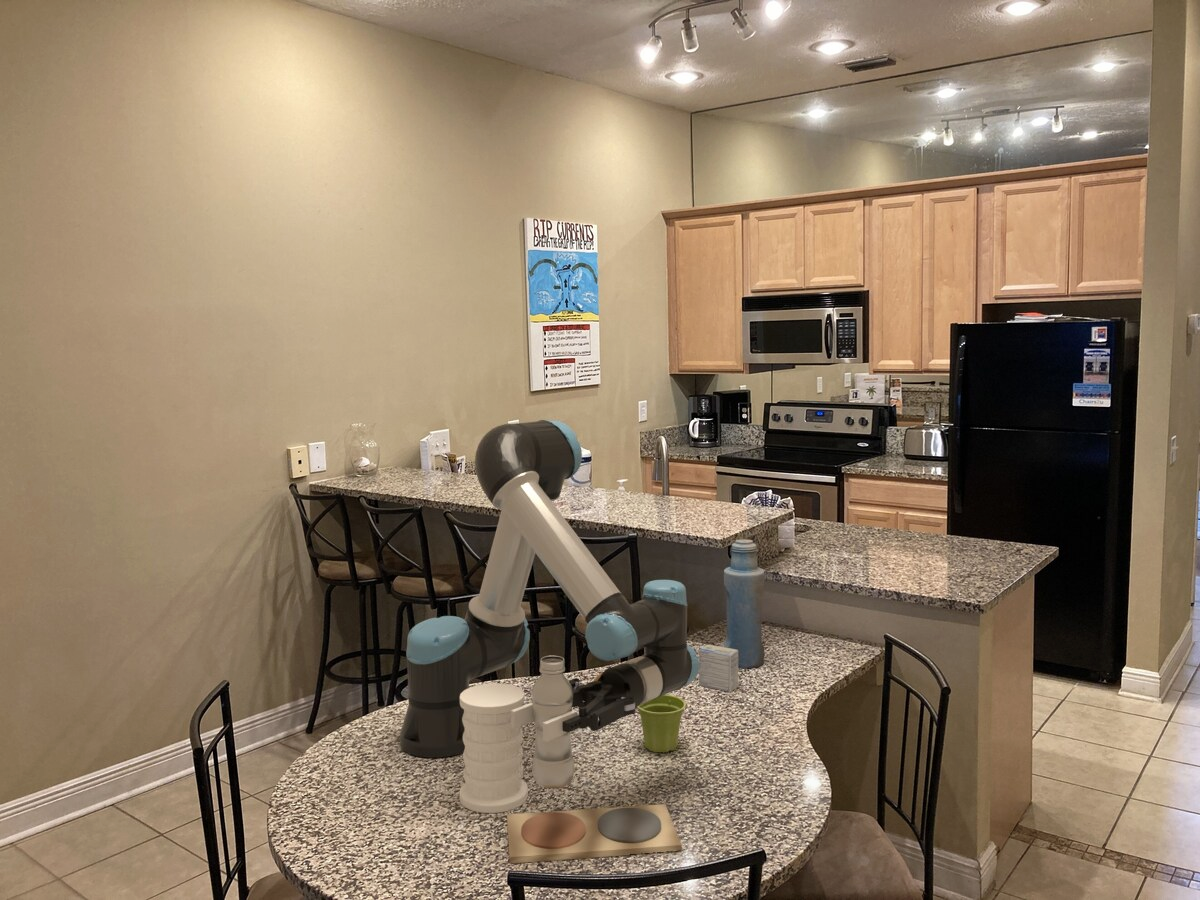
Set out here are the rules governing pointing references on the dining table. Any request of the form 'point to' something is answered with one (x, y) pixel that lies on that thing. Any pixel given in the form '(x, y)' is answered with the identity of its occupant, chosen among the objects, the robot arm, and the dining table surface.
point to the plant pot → (661, 722)
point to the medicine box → (718, 667)
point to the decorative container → (492, 749)
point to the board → (590, 833)
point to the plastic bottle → (550, 702)
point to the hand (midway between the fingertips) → (528, 725)
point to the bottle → (744, 604)
